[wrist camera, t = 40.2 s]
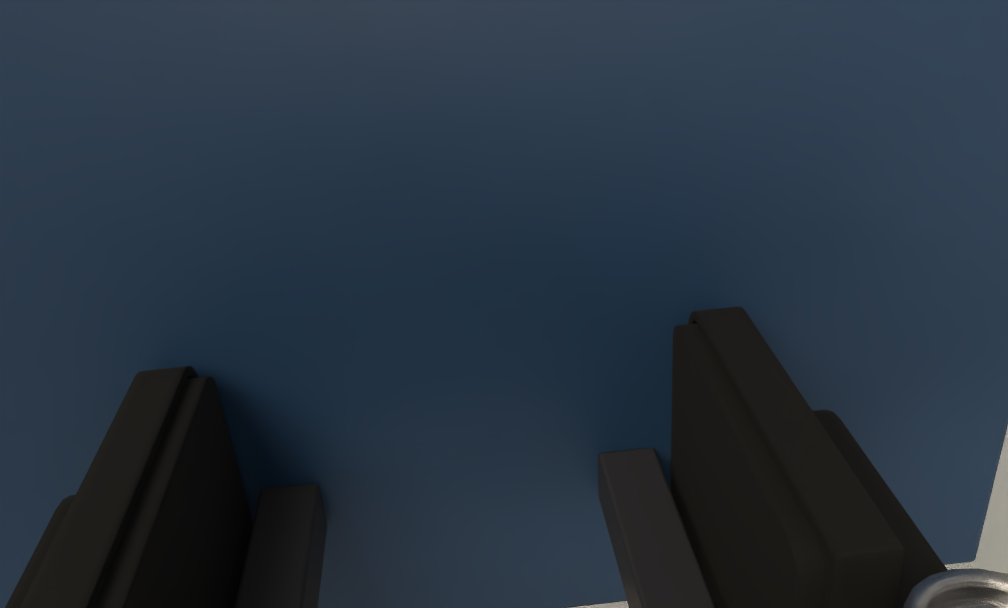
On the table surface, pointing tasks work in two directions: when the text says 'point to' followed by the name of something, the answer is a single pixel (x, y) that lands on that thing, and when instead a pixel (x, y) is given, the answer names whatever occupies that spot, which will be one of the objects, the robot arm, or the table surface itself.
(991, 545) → the table surface
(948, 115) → the cooler lid
